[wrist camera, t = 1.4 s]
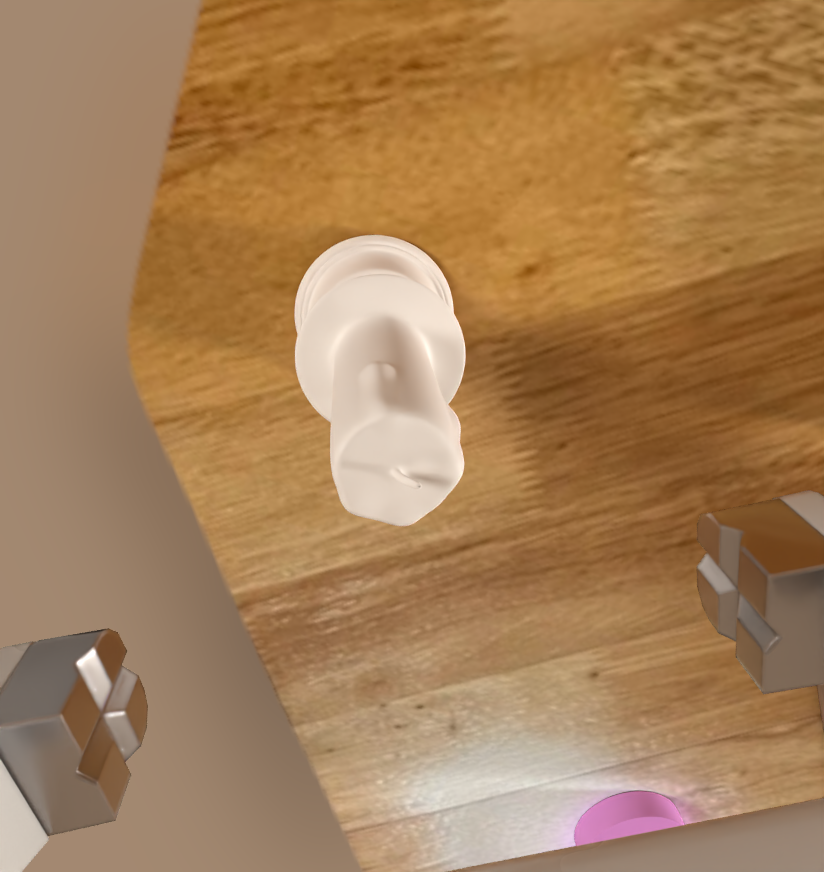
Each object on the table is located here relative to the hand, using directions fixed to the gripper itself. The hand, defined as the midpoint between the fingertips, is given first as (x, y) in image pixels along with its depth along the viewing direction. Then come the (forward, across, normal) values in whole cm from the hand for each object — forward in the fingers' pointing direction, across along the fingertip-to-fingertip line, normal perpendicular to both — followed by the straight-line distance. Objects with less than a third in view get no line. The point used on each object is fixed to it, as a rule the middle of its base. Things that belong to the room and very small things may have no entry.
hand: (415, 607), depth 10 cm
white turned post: (+15, 0, 0) cm, 15 cm away
